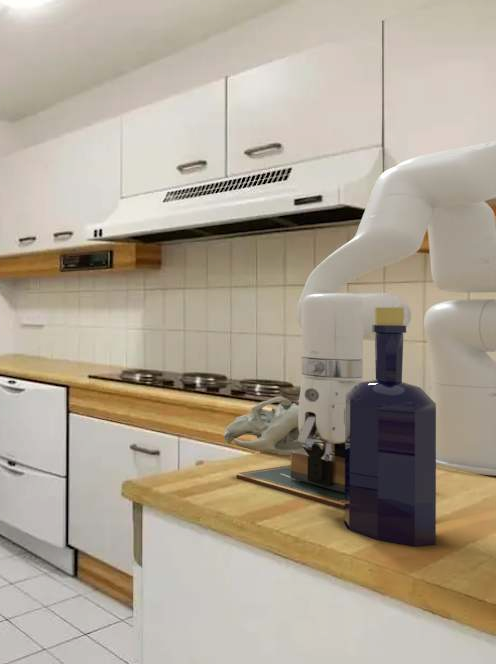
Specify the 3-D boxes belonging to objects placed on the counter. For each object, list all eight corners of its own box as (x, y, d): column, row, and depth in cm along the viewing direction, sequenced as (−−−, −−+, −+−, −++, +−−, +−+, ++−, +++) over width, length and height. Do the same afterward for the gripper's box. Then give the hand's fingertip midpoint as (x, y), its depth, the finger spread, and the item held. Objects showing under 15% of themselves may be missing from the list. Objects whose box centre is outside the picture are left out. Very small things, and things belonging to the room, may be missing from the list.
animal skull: (224, 472, 116) (202, 415, 116) (241, 447, 124) (221, 394, 124) (330, 473, 102) (306, 408, 102) (342, 444, 110) (320, 385, 110)
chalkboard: (317, 466, 104) (317, 460, 104) (429, 493, 89) (429, 486, 89) (236, 478, 96) (236, 472, 96) (344, 510, 81) (344, 502, 81)
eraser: (307, 475, 94) (308, 449, 94) (372, 493, 85) (373, 464, 85) (290, 477, 92) (291, 451, 92) (354, 495, 84) (355, 466, 84)
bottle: (459, 549, 68) (461, 307, 67) (372, 543, 69) (373, 307, 69) (401, 521, 77) (402, 307, 76) (325, 516, 78) (327, 307, 78)
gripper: (323, 374, 82) (323, 495, 82) (391, 370, 88) (391, 483, 88) (271, 369, 89) (270, 480, 89) (337, 365, 95) (336, 470, 95)
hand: (330, 480), depth 89 cm, fingers closed on eraser, 4 cm apart
